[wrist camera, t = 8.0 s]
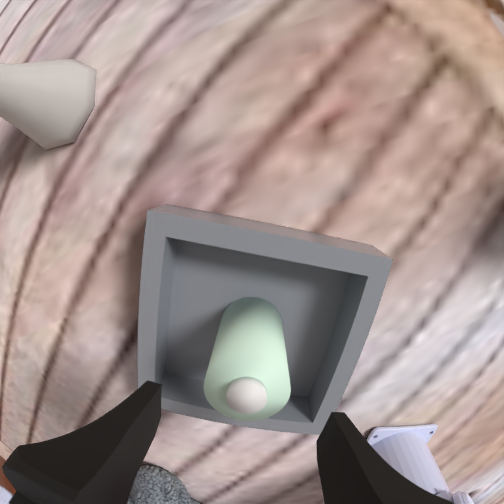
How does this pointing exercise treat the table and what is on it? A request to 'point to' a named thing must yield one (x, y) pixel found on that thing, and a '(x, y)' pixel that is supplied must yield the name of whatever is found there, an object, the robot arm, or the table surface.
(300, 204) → the table surface
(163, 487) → the koala plush
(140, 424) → the robot arm
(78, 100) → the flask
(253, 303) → the cylinder
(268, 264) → the bin
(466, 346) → the table surface
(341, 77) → the table surface
